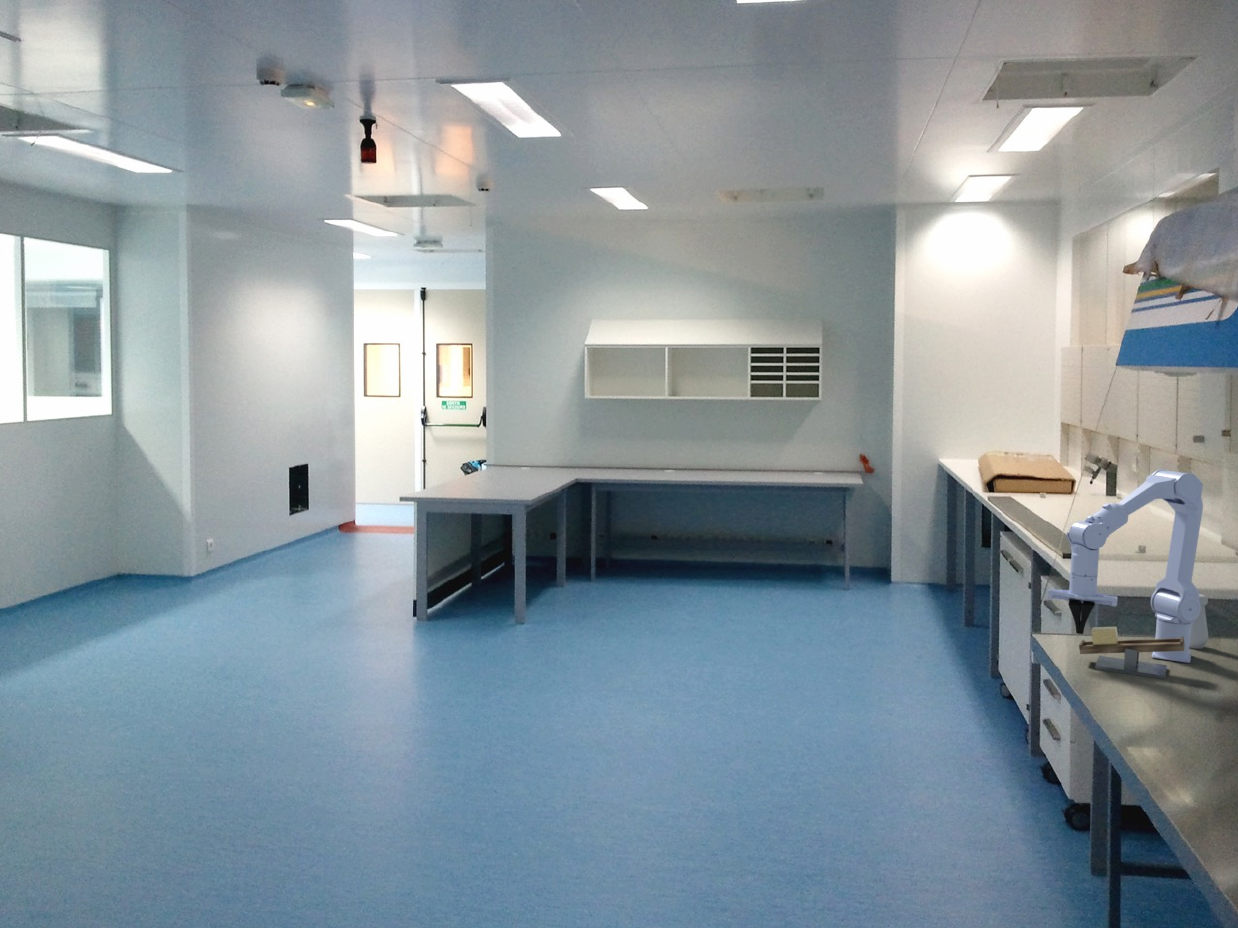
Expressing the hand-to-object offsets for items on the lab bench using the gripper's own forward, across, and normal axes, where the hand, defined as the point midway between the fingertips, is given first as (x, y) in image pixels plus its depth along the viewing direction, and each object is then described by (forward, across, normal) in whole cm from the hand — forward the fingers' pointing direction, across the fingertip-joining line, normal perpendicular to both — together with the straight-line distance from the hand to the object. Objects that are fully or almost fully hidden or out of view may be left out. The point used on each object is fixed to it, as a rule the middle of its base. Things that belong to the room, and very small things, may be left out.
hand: (1079, 632), depth 246 cm
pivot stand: (+7, +11, 0) cm, 13 cm away
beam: (+3, +11, 0) cm, 11 cm away
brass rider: (+2, +6, 0) cm, 6 cm away
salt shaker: (+7, +23, +32) cm, 40 cm away
